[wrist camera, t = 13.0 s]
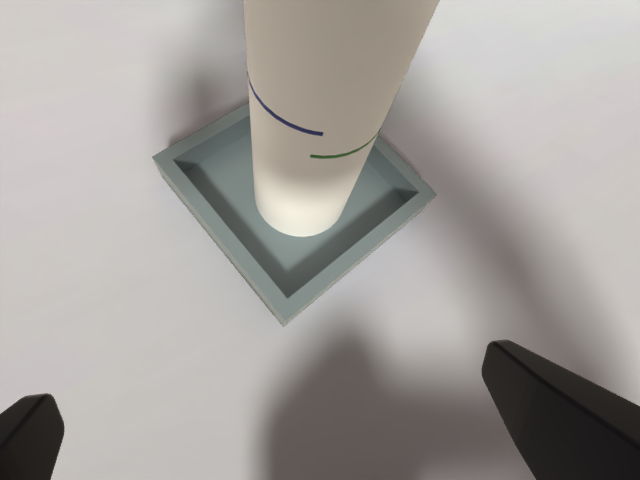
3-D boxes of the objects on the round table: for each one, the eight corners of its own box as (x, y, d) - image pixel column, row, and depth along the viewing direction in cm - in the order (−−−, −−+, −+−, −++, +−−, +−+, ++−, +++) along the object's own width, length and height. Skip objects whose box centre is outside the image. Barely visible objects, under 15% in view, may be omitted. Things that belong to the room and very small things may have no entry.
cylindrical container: (271, 145, 30) (289, -601, 7) (353, 171, 31) (627, -472, 7) (241, 220, 28) (122, -575, 5) (332, 248, 28) (654, -377, 5)
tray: (422, 210, 31) (437, 194, 28) (283, 326, 26) (285, 320, 23) (307, 92, 34) (311, 67, 31) (162, 177, 29) (152, 156, 26)
